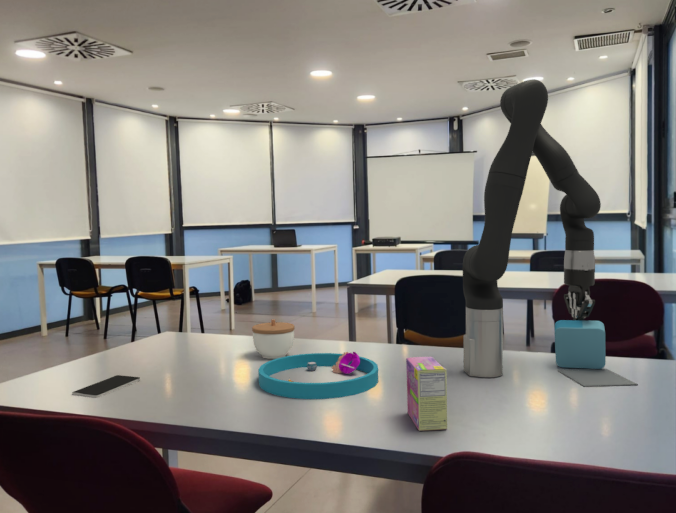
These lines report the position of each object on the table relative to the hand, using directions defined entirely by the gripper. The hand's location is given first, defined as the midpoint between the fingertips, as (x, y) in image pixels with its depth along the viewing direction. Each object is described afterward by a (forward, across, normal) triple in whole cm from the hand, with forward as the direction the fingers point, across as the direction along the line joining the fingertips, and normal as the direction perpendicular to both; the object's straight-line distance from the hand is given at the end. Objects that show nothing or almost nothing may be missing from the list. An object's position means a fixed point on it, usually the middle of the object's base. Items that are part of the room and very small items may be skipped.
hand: (578, 331), depth 149 cm
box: (+10, +36, -49) cm, 62 cm away
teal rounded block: (+9, +1, 0) cm, 9 cm away
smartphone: (+10, +5, -122) cm, 123 cm away
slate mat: (+10, +11, -1) cm, 15 cm away
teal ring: (+10, +5, -70) cm, 71 cm away
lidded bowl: (+10, -22, -83) cm, 86 cm away
